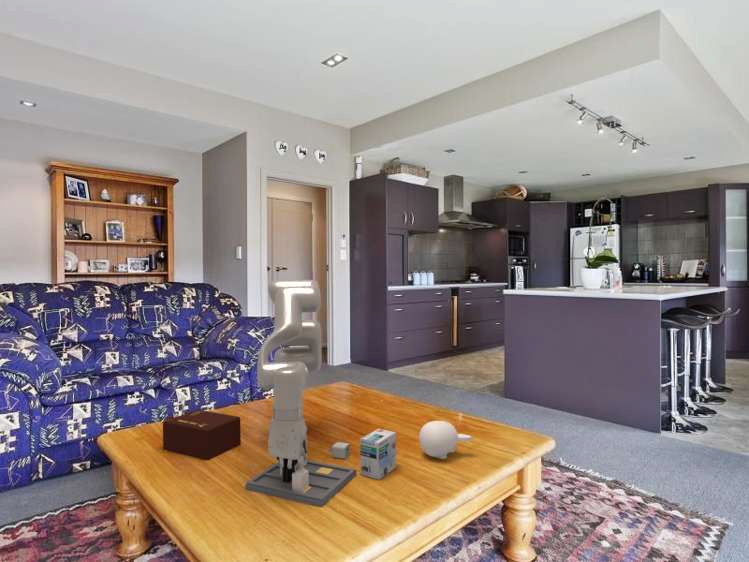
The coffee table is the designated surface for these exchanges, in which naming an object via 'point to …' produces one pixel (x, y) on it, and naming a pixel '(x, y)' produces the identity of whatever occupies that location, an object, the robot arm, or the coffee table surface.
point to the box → (201, 434)
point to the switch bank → (321, 483)
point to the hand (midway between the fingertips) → (288, 480)
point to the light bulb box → (378, 453)
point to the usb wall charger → (340, 450)
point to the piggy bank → (440, 438)
